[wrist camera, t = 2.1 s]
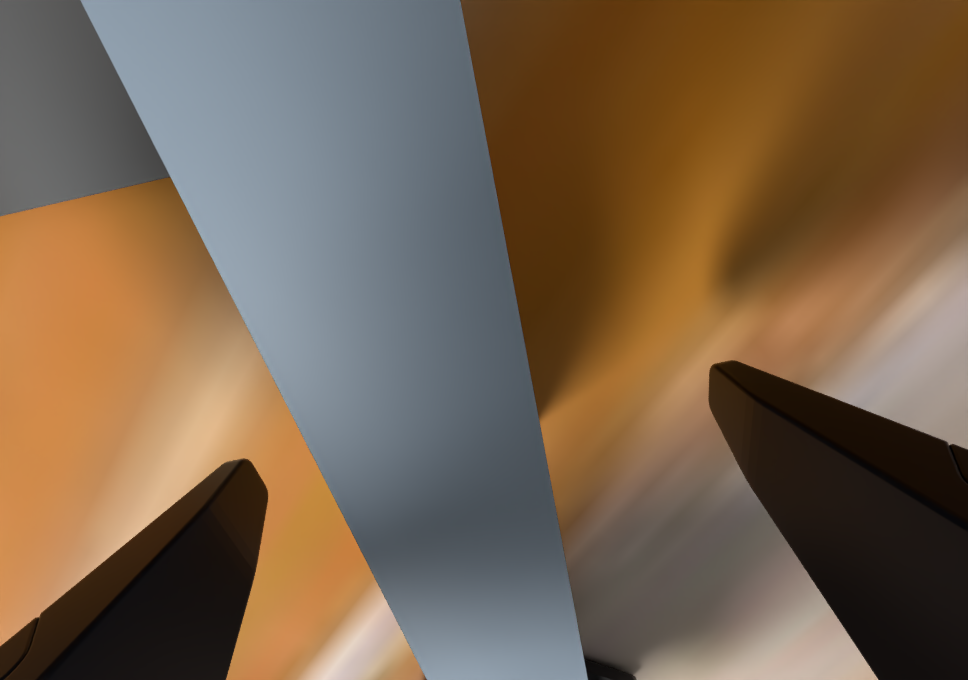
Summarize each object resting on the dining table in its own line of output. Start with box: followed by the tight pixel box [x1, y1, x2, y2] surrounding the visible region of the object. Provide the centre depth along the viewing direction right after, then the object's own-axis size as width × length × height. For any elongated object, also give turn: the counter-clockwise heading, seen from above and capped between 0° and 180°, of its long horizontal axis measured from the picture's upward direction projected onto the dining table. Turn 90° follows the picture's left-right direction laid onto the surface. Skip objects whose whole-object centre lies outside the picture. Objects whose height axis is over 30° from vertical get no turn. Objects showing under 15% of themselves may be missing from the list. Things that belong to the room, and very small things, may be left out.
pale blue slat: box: [80, 0, 588, 680], centre depth 7 cm, size 12×2×6 cm, turn 12°
